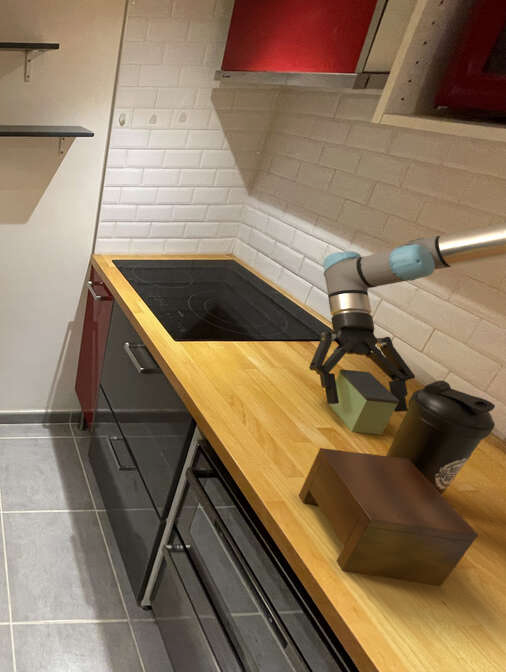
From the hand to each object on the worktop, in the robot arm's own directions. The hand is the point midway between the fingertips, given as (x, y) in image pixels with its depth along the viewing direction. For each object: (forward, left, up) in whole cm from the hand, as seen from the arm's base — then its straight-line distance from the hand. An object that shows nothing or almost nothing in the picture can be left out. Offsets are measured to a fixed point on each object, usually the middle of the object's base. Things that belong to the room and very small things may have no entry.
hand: (366, 407), depth 99 cm
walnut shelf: (+16, +30, -5) cm, 34 cm away
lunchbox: (0, -2, -5) cm, 5 cm away
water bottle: (+2, +18, -5) cm, 19 cm away
